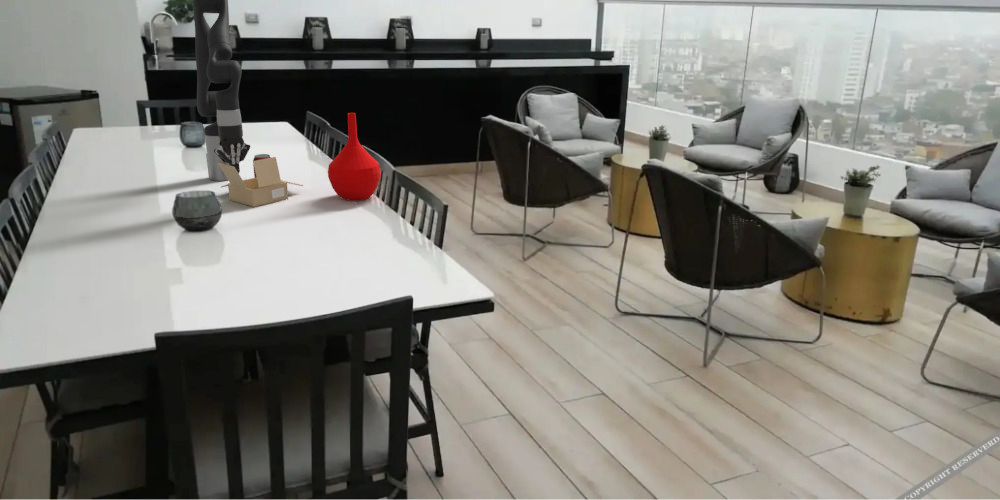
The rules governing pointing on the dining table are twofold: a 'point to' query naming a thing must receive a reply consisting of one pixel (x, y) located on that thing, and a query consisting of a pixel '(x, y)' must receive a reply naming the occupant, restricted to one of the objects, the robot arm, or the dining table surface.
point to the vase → (354, 168)
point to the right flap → (232, 175)
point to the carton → (258, 193)
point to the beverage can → (259, 157)
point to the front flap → (267, 172)
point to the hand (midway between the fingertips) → (235, 174)
